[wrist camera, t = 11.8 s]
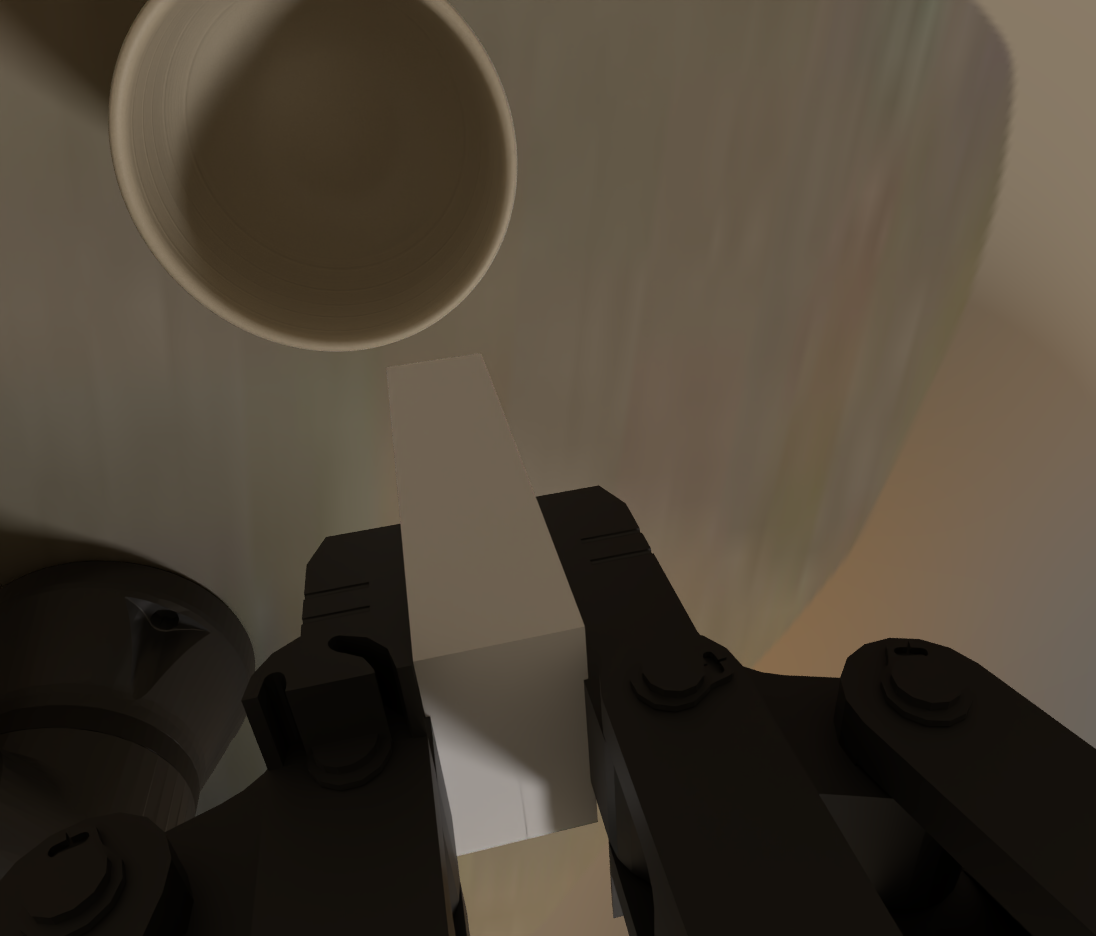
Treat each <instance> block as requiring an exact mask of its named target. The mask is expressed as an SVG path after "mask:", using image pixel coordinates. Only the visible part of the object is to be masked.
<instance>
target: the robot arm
mask: <svg viewBox="0 0 1096 936" xmlns="http://www.w3.org/2000/svg"><path fill="white" fill-rule="evenodd" d="M386 371H387V382H388V393H389V404H390V415H391V425H392V436H393V447H394V458H395V469H396V480H397V491H398V502H399V513H400V524H397V525H391V526H385V527H380V528H374V529H369V530H363V531H358V532H352V533H346V534H341V535H335V536H330V537H326V538H325V539H324V541H323V542H322V543H321V545H320V546H319V548H318V549H317V551H316V552H315V554H314V555H313V557H312V558H311V559H310V561H309V562H308V564H307V568H306V579H305V591H304V595H305V600H304V602H303V614H302V620H303V625H301V637H299V638H297V639H295V640H294V641H292V642H291V643H289V644H287V645H286V646H284V647H282V648H281V649H279V650H278V651H276V652H274V653H273V654H271V655H270V657H269V658H268V659H267V660H266V661H265V662H264V663H263V664H262V665H261V666H260V667H259V668H258V669H257V670H256V672H255V657H254V652H253V648H252V644H251V641H250V639H249V637H248V634H247V632H246V631H245V629H244V627H243V625H242V624H241V622H240V621H239V620H238V618H237V617H236V616H235V615H234V613H233V612H232V611H231V610H230V609H229V608H228V607H227V606H226V605H225V604H224V603H223V602H221V601H220V600H219V599H218V598H216V597H215V596H214V595H212V594H211V593H210V592H208V591H207V590H205V589H203V588H202V587H200V586H198V585H197V584H195V583H193V582H191V581H189V580H187V579H184V578H182V577H180V576H177V575H175V574H172V573H169V572H166V571H163V570H160V569H156V568H152V567H148V566H144V565H138V564H132V563H125V562H113V561H87V562H76V563H69V564H63V565H58V566H53V567H49V568H46V569H42V570H39V571H36V572H33V573H30V574H28V575H26V576H23V577H21V578H19V579H17V580H15V581H13V582H11V583H9V584H8V585H6V586H4V587H3V588H1V589H0V936H470V933H469V925H468V918H467V910H466V906H465V902H464V897H463V893H462V888H461V884H460V878H459V870H458V861H457V856H460V855H464V854H468V853H472V852H476V851H480V850H484V849H488V848H493V847H497V846H501V845H505V844H509V843H513V842H517V841H521V840H526V839H530V838H534V837H538V836H542V835H546V834H550V833H554V832H558V831H563V830H567V829H571V828H575V827H579V826H583V825H587V824H591V823H596V822H598V820H597V805H596V800H597V803H598V806H599V809H600V813H601V816H602V819H603V822H604V825H605V829H606V832H607V835H608V839H609V857H610V875H611V893H612V906H613V917H614V918H616V917H620V916H624V919H625V922H626V926H627V929H628V933H629V936H1096V749H1095V748H1093V747H1092V746H1091V745H1089V744H1088V743H1087V742H1085V741H1084V740H1083V739H1081V738H1079V737H1078V736H1077V735H1076V734H1074V733H1073V732H1071V731H1070V730H1069V729H1067V728H1066V727H1065V726H1063V725H1062V724H1061V723H1059V722H1058V721H1056V720H1055V719H1054V718H1052V717H1051V716H1050V715H1048V714H1047V713H1046V712H1044V711H1043V710H1041V709H1040V708H1039V707H1037V706H1036V705H1035V704H1033V703H1032V702H1030V701H1029V700H1028V699H1026V698H1025V697H1024V696H1022V695H1021V694H1019V693H1018V692H1016V691H1015V690H1014V689H1013V688H1011V687H1010V686H1008V685H1007V684H1006V683H1004V682H1003V681H1002V680H1000V679H999V678H997V677H996V676H995V675H993V674H992V673H991V672H989V671H988V670H986V669H985V668H984V667H982V666H981V665H979V664H978V663H976V662H975V661H972V660H971V659H969V658H967V657H966V656H964V655H962V654H960V653H958V652H956V651H955V650H953V649H951V648H949V647H945V646H942V645H938V644H934V643H931V642H927V641H924V640H920V639H902V638H887V639H883V640H880V641H876V642H872V643H868V644H864V645H863V646H862V647H861V648H859V649H858V650H857V651H855V652H854V653H853V654H852V655H850V656H849V657H848V658H847V660H846V663H845V666H844V669H843V671H842V674H841V677H840V678H831V677H830V678H829V677H810V676H809V677H808V676H788V675H778V674H771V673H763V672H759V671H756V670H753V669H750V668H746V667H743V666H742V665H741V664H740V663H739V661H738V660H737V659H736V658H735V657H734V656H733V655H732V654H731V653H730V652H729V651H728V649H727V648H725V647H723V646H722V645H720V644H718V643H716V642H714V641H712V640H710V639H708V638H707V637H705V636H702V635H700V634H699V633H698V632H697V630H696V628H695V627H694V625H693V623H692V621H691V619H690V618H689V616H688V614H687V612H686V611H685V609H684V607H683V605H682V603H681V602H680V600H679V598H678V596H677V594H676V593H675V591H674V589H673V587H672V585H671V584H670V582H669V580H668V578H667V577H666V575H665V573H664V571H663V569H662V568H661V566H660V564H659V562H658V560H657V559H656V557H655V555H654V553H653V554H652V553H651V548H650V546H649V544H648V543H647V541H646V539H645V537H644V535H643V534H642V533H640V530H639V526H638V525H637V523H636V521H635V519H634V517H633V516H632V514H631V512H630V510H629V509H628V507H627V505H626V503H624V502H623V501H621V500H620V499H618V498H617V497H615V496H614V495H612V494H611V493H609V492H608V491H606V490H605V489H603V488H602V487H600V486H593V487H588V488H582V489H577V490H571V491H565V492H560V493H554V494H549V495H543V496H537V497H536V496H535V494H534V491H533V488H532V486H531V483H530V480H529V478H528V475H527V473H526V470H525V467H524V465H523V462H522V459H521V457H520V454H519V451H518V449H517V446H516V443H515V441H514V438H513V436H512V433H511V430H510V428H509V425H508V422H507V420H506V417H505V414H504V412H503V409H502V407H501V404H500V401H499V399H498V396H497V393H496V391H495V388H494V385H493V383H492V380H491V378H490V375H489V372H488V370H487V367H486V364H485V362H484V359H483V356H482V354H481V353H478V354H471V355H465V356H458V357H451V358H445V359H438V360H431V361H425V362H418V363H411V364H405V365H398V366H391V367H386ZM246 714H247V717H248V720H249V722H250V725H251V727H252V730H253V733H254V735H255V738H256V740H257V743H258V745H259V748H260V751H261V753H262V756H263V758H264V761H265V763H266V766H267V770H266V771H265V773H264V774H263V775H261V776H260V777H259V778H258V779H257V780H255V781H254V782H253V783H252V784H251V785H250V786H248V787H247V788H246V789H245V790H244V791H242V792H240V793H239V794H237V795H235V796H234V797H232V798H230V799H229V800H227V801H225V802H224V803H222V804H220V805H218V806H216V807H214V808H212V809H210V810H208V811H206V812H204V813H202V814H200V815H198V816H196V817H195V814H196V809H197V804H198V799H199V795H200V791H201V790H202V788H203V786H204V785H205V783H206V782H207V780H208V779H209V777H210V775H211V774H212V772H213V771H214V769H215V767H216V766H217V764H218V763H219V761H220V759H221V758H222V756H223V754H224V753H225V751H226V749H227V747H228V746H229V744H230V742H231V740H232V739H233V738H234V737H235V736H236V734H237V733H238V731H239V729H240V727H241V726H242V724H243V722H244V719H245V717H246Z"/></svg>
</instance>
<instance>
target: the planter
mask: <svg viewBox="0 0 1096 936" xmlns="http://www.w3.org/2000/svg"><path fill="white" fill-rule="evenodd" d="M108 129H109V142H110V150H111V156H112V162H113V166H114V171H115V175H116V178H117V182H118V185H119V188H120V191H121V194H122V197H123V199H124V202H125V205H126V207H127V209H128V211H129V214H130V216H131V218H132V220H133V222H134V224H135V226H136V228H137V230H138V231H139V233H140V235H141V236H142V238H143V240H144V241H145V243H146V244H147V246H148V248H149V249H150V250H151V252H152V253H153V255H154V256H155V257H156V259H157V260H158V261H159V263H160V264H161V265H162V266H163V267H164V269H165V270H166V271H167V272H168V273H169V274H170V276H171V277H172V278H173V279H174V280H175V281H176V282H177V283H178V284H179V285H180V286H181V287H182V288H183V289H184V290H185V291H186V292H188V293H189V294H190V295H191V296H192V297H193V298H194V299H196V300H197V301H198V302H199V303H201V304H202V305H203V306H205V307H206V308H207V309H209V310H210V311H212V312H213V313H215V314H216V315H217V316H219V317H221V318H222V319H224V320H226V321H227V322H229V323H231V324H233V325H234V326H236V327H238V328H240V329H242V330H244V331H246V332H249V333H251V334H253V335H256V336H258V337H261V338H263V339H266V340H269V341H272V342H275V343H279V344H282V345H286V346H291V347H295V348H301V349H307V350H315V351H331V352H340V351H355V350H363V349H370V348H375V347H379V346H383V345H387V344H390V343H393V342H396V341H399V340H402V339H405V338H407V337H409V336H412V335H414V334H416V333H418V332H420V331H422V330H424V329H426V328H427V327H429V326H431V325H432V324H434V323H436V322H437V321H438V320H440V319H441V318H443V317H444V316H445V315H447V314H448V313H449V312H451V311H452V310H453V309H454V308H455V307H456V306H458V305H459V304H460V303H461V302H462V301H463V300H464V299H465V298H466V297H467V296H468V295H469V294H470V292H471V291H472V290H473V289H474V288H475V287H476V285H477V284H478V283H479V282H480V280H481V279H482V277H483V276H484V275H485V273H486V272H487V270H488V268H489V267H490V265H491V264H492V262H493V260H494V258H495V256H496V254H497V252H498V250H499V248H500V246H501V244H502V241H503V239H504V236H505V234H506V231H507V228H508V225H509V222H510V218H511V214H512V210H513V205H514V199H515V193H516V184H517V146H516V137H515V130H514V125H513V119H512V115H511V111H510V107H509V104H508V100H507V97H506V94H505V91H504V88H503V86H502V83H501V80H500V78H499V76H498V73H497V71H496V69H495V67H494V65H493V63H492V61H491V59H490V57H489V55H488V53H487V52H486V50H485V48H484V46H483V45H482V43H481V42H480V40H479V39H478V37H477V36H476V34H475V33H474V31H473V30H472V29H471V27H470V26H469V25H468V23H467V22H466V21H465V19H464V18H463V17H462V16H461V15H460V13H459V12H458V11H457V10H456V9H455V8H454V7H453V6H452V5H451V4H450V3H449V2H448V0H148V1H147V2H146V3H145V5H144V6H143V7H142V9H141V10H140V12H139V13H138V15H137V16H136V18H135V20H134V22H133V23H132V25H131V27H130V29H129V31H128V33H127V35H126V37H125V39H124V42H123V44H122V47H121V49H120V52H119V55H118V58H117V61H116V65H115V69H114V73H113V77H112V82H111V89H110V96H109V109H108Z"/></svg>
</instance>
